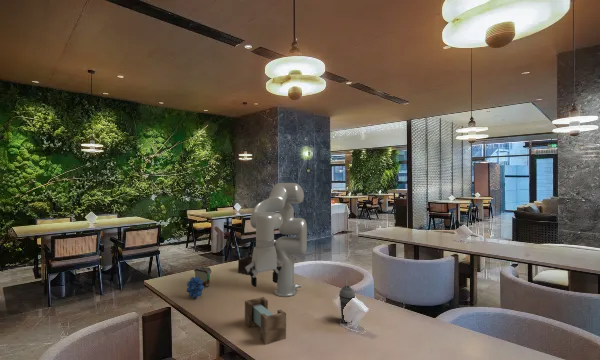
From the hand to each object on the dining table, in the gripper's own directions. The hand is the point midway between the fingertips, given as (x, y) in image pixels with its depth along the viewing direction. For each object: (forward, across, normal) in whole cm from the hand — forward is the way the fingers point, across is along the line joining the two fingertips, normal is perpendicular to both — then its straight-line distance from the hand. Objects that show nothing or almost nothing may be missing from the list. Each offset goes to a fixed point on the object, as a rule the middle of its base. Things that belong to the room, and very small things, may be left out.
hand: (264, 284), depth 133 cm
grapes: (+20, +15, -53) cm, 58 cm away
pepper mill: (+21, -29, -82) cm, 89 cm away
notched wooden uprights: (+19, 0, 0) cm, 19 cm away
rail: (+17, 0, 0) cm, 17 cm away
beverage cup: (+20, -36, +11) cm, 42 cm away
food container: (+20, +5, -73) cm, 76 cm away
